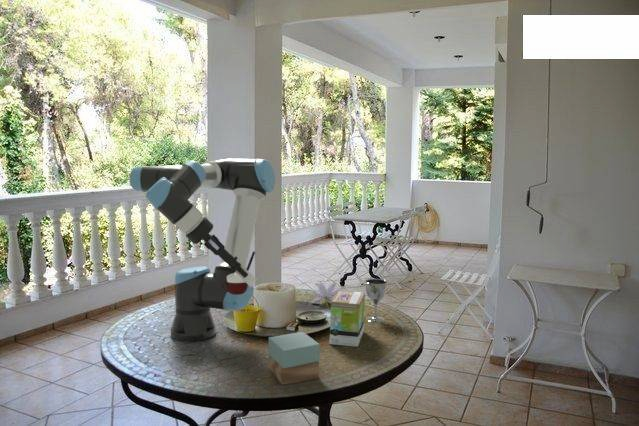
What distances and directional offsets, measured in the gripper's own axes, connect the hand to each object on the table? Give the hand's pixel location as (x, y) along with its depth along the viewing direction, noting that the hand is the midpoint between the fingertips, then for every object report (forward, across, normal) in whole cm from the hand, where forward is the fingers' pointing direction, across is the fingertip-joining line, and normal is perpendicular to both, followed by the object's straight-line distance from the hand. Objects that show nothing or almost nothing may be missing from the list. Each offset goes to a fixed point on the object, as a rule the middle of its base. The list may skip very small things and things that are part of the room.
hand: (251, 280), depth 148 cm
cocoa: (0, 0, -5) cm, 5 cm away
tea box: (+43, -12, +8) cm, 46 cm away
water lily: (+47, -51, +14) cm, 71 cm away
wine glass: (+55, -27, +21) cm, 65 cm away
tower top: (+23, +9, -7) cm, 25 cm away
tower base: (+26, +9, -10) cm, 30 cm away
